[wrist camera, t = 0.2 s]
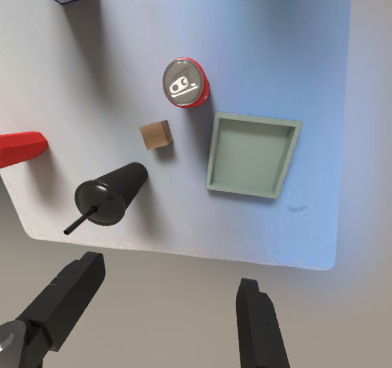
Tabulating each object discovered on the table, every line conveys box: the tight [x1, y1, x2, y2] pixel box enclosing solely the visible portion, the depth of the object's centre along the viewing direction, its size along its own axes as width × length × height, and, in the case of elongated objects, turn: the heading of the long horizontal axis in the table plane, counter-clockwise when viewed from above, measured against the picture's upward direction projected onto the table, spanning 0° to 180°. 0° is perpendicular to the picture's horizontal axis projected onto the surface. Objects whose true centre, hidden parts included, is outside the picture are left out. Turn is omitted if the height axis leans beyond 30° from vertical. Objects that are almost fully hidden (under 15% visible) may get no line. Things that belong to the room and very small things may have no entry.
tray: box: [205, 111, 303, 199], centre depth 34 cm, size 14×14×3 cm
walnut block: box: [140, 120, 173, 150], centre depth 33 cm, size 4×4×4 cm
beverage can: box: [163, 58, 210, 108], centre depth 26 cm, size 5×5×12 cm
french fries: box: [0, 131, 47, 169], centre depth 33 cm, size 9×4×13 cm, turn 122°
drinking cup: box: [64, 162, 148, 235], centre depth 30 cm, size 8×8×20 cm
